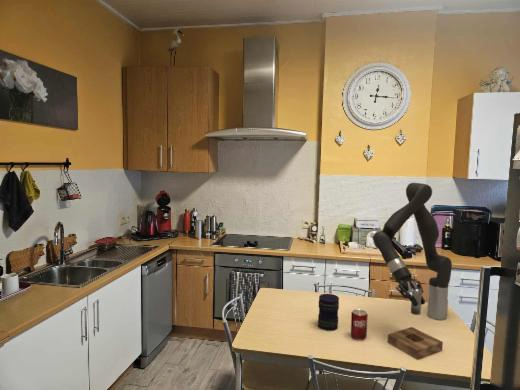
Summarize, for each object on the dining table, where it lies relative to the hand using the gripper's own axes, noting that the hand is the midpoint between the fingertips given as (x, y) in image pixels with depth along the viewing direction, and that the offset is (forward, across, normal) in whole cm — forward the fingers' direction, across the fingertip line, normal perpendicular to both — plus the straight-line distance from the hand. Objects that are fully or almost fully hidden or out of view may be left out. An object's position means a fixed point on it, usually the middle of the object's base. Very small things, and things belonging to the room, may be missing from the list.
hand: (420, 304), depth 157 cm
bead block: (+13, 0, +15) cm, 20 cm away
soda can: (0, -16, +28) cm, 32 cm away
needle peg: (+2, 0, +5) cm, 5 cm away
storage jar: (-10, -22, +39) cm, 46 cm away
